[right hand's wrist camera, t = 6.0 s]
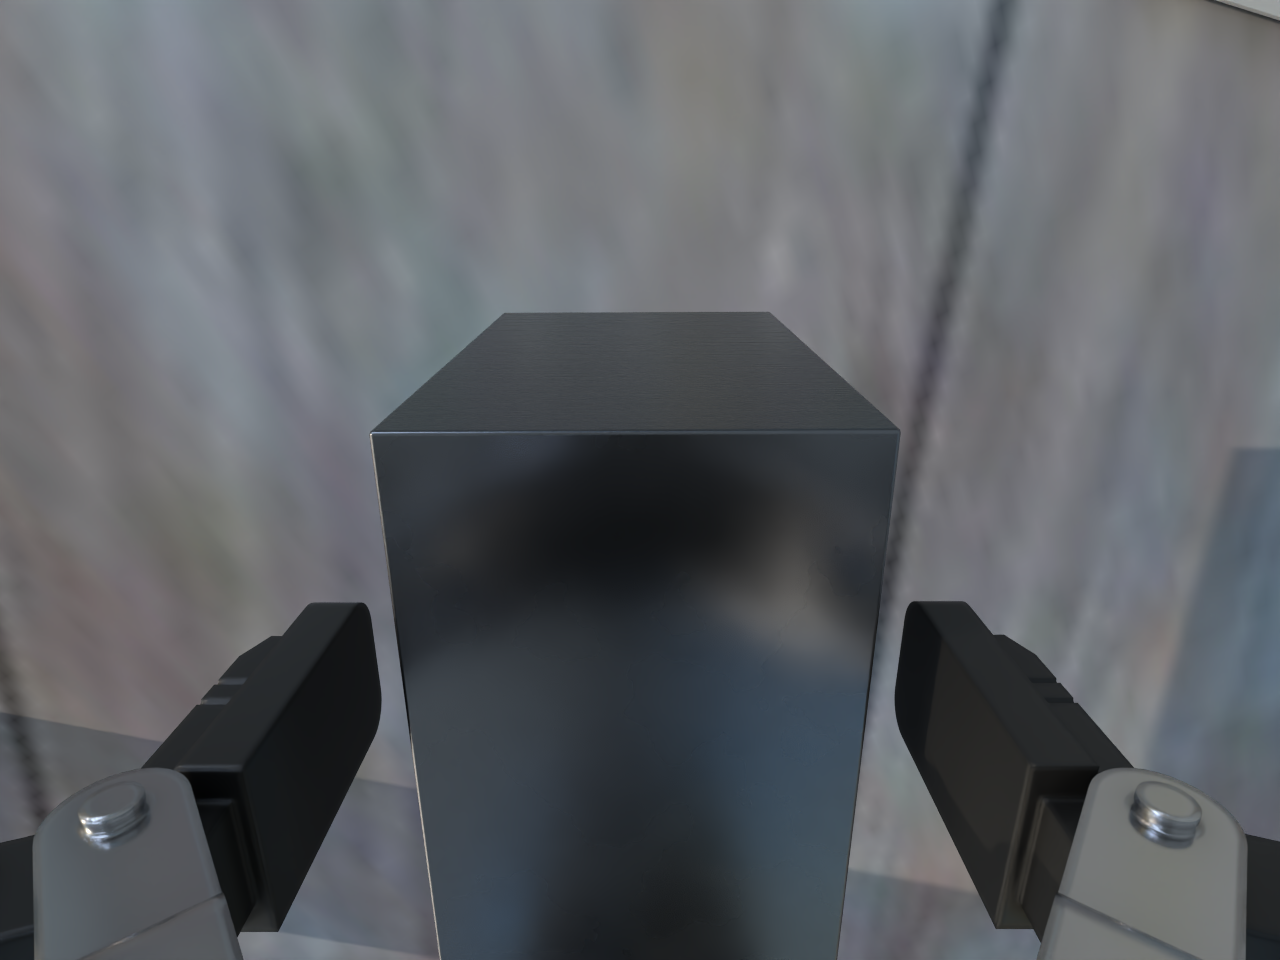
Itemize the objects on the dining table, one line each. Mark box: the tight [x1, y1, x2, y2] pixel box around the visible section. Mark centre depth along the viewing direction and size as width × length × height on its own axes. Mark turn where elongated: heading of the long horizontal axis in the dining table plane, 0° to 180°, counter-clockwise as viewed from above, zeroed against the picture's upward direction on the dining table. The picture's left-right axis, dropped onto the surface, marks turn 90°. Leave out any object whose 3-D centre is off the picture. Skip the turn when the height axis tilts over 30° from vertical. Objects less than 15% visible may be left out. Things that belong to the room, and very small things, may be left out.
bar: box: [370, 312, 901, 960], centre depth 17 cm, size 24×6×9 cm, turn 0°
